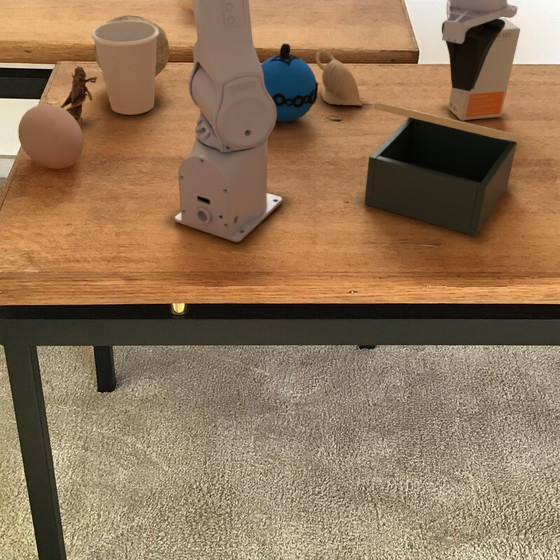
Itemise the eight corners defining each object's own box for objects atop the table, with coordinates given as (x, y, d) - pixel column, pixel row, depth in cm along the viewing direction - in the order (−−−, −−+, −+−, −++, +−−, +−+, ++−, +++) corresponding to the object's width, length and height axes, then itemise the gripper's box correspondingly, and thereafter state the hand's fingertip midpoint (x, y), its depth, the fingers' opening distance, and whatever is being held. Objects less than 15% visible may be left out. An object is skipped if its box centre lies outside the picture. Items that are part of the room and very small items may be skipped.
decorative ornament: (336, 111, 103) (338, 73, 100) (309, 87, 109) (311, 50, 106) (363, 107, 104) (366, 69, 101) (335, 83, 110) (337, 46, 107)
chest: (475, 237, 80) (486, 188, 76) (364, 204, 84) (368, 156, 81) (507, 187, 88) (517, 141, 84) (403, 160, 92) (409, 115, 89)
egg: (11, 151, 92) (39, 188, 85) (5, 97, 88) (34, 131, 81) (66, 142, 95) (97, 176, 89) (63, 89, 91) (95, 121, 85)
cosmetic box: (461, 122, 101) (477, 31, 94) (447, 108, 104) (461, 20, 97) (502, 117, 102) (521, 28, 95) (487, 104, 106) (504, 16, 98)
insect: (66, 133, 100) (44, 124, 95) (77, 68, 100) (56, 56, 95) (96, 137, 99) (76, 128, 94) (107, 71, 99) (88, 59, 94)
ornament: (270, 100, 105) (271, 27, 99) (327, 114, 102) (331, 40, 96) (238, 124, 99) (237, 48, 93) (297, 140, 96) (300, 62, 90)
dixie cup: (158, 120, 99) (152, 44, 93) (94, 117, 100) (83, 41, 94) (169, 93, 106) (163, 20, 100) (108, 91, 106) (99, 18, 100)
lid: (496, 138, 73) (498, 131, 73) (374, 108, 78) (375, 101, 78) (517, 141, 84) (519, 135, 84) (409, 115, 89) (410, 109, 89)
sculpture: (107, 93, 109) (83, 37, 100) (107, 75, 111) (83, 19, 102) (177, 79, 108) (159, 22, 100) (176, 62, 110) (158, 5, 102)
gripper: (504, -18, 70) (478, 120, 78) (543, -54, 80) (516, 72, 88) (430, -31, 72) (412, 105, 80) (477, -63, 82) (457, 60, 91)
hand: (462, 87), depth 84 cm, fingers closed
